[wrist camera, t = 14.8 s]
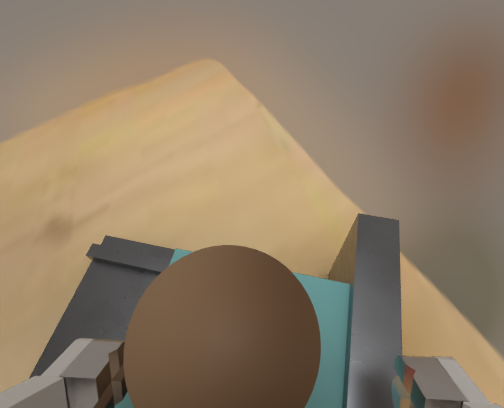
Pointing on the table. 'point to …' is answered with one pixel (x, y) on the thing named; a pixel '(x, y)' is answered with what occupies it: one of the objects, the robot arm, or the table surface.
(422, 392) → the robot arm
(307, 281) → the socket block
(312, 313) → the dowel
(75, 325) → the track
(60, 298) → the table surface
